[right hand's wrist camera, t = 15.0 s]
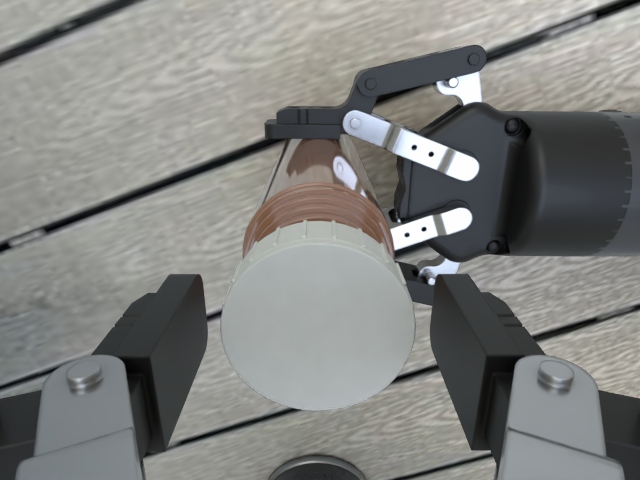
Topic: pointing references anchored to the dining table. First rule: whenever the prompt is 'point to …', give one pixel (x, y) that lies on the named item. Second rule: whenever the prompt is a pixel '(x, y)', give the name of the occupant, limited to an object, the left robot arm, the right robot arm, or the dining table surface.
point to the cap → (318, 317)
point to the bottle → (319, 191)
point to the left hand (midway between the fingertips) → (269, 183)
